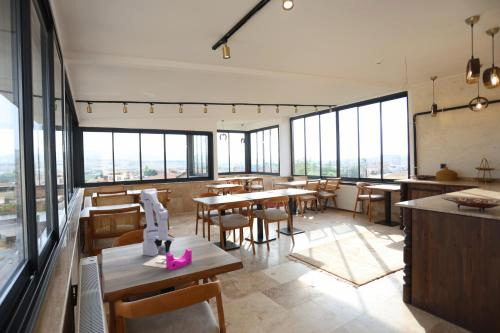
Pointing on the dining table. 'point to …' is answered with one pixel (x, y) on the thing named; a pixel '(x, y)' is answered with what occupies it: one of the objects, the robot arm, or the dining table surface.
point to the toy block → (178, 260)
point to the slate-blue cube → (162, 250)
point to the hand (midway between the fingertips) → (163, 251)
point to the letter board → (157, 262)
